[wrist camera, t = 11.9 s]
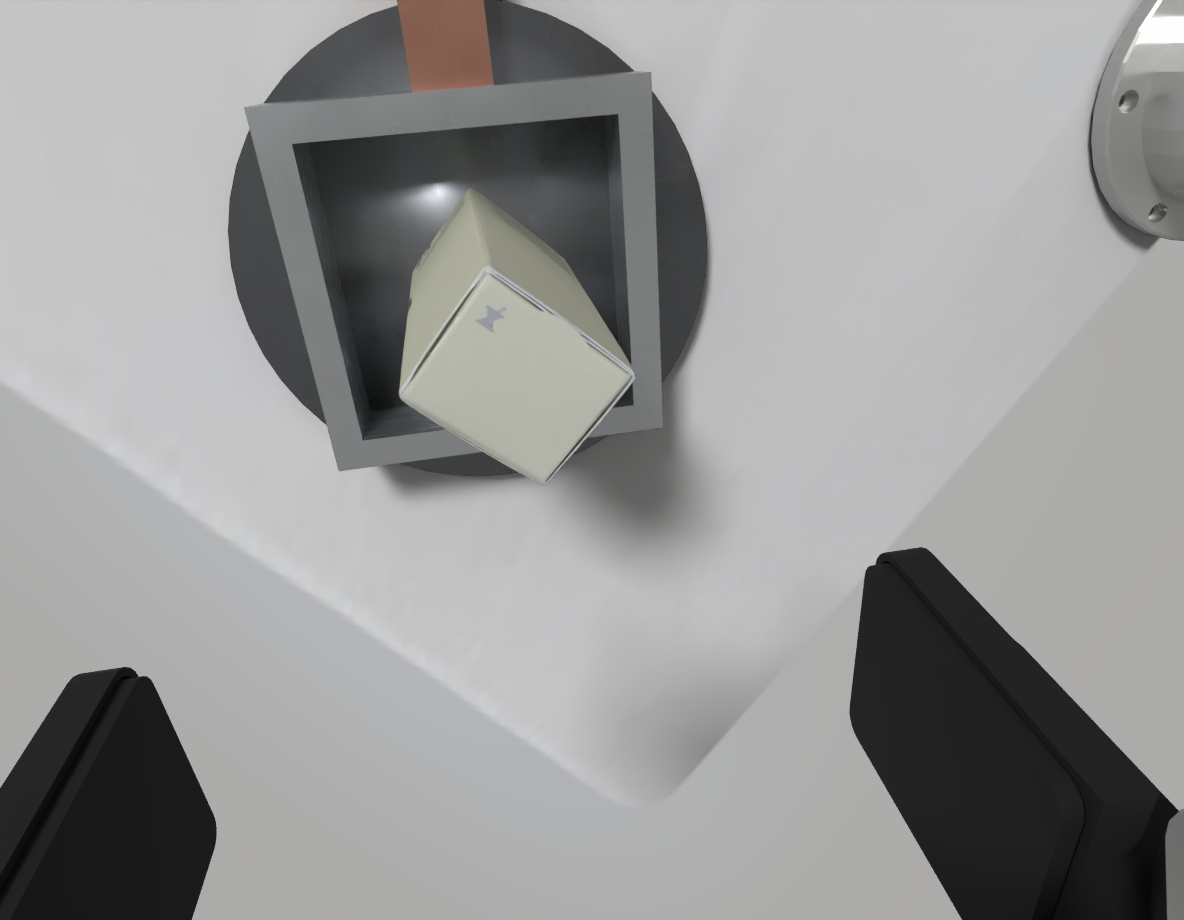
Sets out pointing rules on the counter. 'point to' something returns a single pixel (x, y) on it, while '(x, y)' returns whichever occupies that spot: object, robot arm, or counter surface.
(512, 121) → the disc with square frame
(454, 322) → the box
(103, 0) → the counter surface
